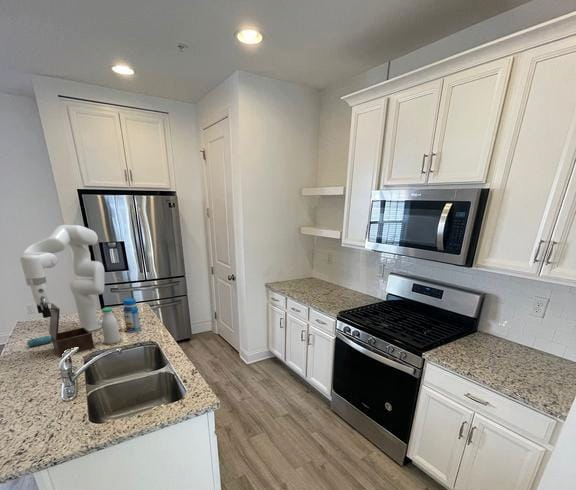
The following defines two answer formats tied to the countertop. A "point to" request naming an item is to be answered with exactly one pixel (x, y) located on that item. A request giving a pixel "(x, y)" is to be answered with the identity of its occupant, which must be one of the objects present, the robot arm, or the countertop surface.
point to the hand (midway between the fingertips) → (44, 314)
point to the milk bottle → (110, 327)
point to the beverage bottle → (131, 315)
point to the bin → (73, 340)
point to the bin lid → (54, 321)
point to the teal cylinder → (39, 341)
